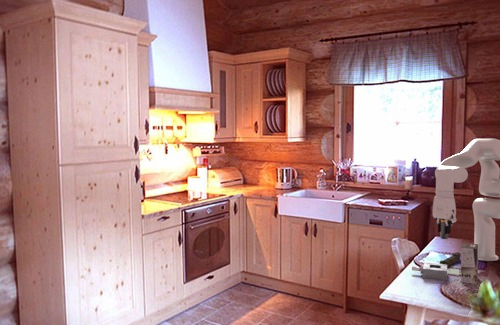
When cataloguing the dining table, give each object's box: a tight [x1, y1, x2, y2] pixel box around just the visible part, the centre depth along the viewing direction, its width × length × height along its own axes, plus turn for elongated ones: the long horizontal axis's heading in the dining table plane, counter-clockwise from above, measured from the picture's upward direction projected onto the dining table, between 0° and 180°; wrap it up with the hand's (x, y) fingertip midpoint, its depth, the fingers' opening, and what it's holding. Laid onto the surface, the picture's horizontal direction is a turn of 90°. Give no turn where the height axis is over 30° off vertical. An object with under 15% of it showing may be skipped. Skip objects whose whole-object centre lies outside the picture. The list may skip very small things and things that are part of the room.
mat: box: [447, 267, 460, 276], centre depth 202 cm, size 8×8×1 cm
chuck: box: [411, 261, 448, 282], centre depth 197 cm, size 10×15×5 cm, turn 64°
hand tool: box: [439, 251, 461, 268], centre depth 214 cm, size 19×4×5 cm, turn 129°
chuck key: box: [439, 219, 449, 240], centre depth 198 cm, size 3×3×9 cm
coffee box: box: [460, 242, 479, 285], centre depth 190 cm, size 9×6×16 cm
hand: (444, 232), depth 198 cm, fingers closed on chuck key, 3 cm apart
